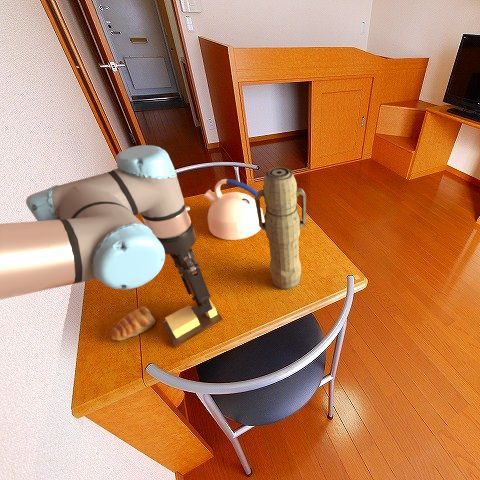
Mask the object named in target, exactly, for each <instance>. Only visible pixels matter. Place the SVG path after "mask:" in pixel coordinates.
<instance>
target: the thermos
mask: <svg viewBox="0 0 480 480" xmlns="http://www.w3.org/2000/svg"><path fill="white" fill-rule="evenodd" d="M297 184H298V183H297V180H296V178H295V176H294V173H293V171H292V170H291V169H289V168H286V167H283V166H276V167H272V168H270V169H268V170H267V171H266V172H265V174H264V178H263V185H262V189H259V190H258V191H257V192H258V193H257V194H256V196H254V199H255V204H256V209H257V215H258V220H259V227H260V228H261V229H260V230H263V231H264V232H265V235H266V238H267V239H268V246H269V255H270V261H269V272H270V277H271V283H272V284H273V286H274V287H276V288H277V289H280V290H284V291H285V290H286V291H288V290H292V289H294V288H296V287H297V286H298V285H299V284H300V283H301V279H302V278H301V277H302V276H301V275H302V264H301V260H300V251H299V250H300V248H299V247H300V244H299V243H300V242H299V239H300V236H301V230H302V227H306V225H307V194H306V192H305V191H304V189H303V188H302V187H298V186H297ZM300 195H301V215H300V213H299V211H298V197H299V196H300ZM261 197H263V198H264V199H263V200H264V204H265V205H264V206H265V213H264V222H262V215H261V209H262V206H261V201H260V200H261Z"/></svg>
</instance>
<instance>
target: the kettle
mask: <svg viewBox="0 0 480 480" xmlns="http://www.w3.org/2000/svg"><path fill="white" fill-rule="evenodd" d="M225 184H227V185H232V186H235V187H238V188H241V189H243V190H245V191H246V192H248V193H250V194H251V195H252V196H253V197H255V196H256V194H257V193H258V191H257V190H256V189H255V188H253V187H251V186H249V185H248V184H247V183H244V182H242V181H238V180H235V179H232V178H231V179H230V178H224V179H223V178H222V179H221V180H219V181H217V183H216V184H215V185H214V192H213V191H212V190H211V189H208V190H206V192H205V193H204V195H203V197H204V198H205V199H206V200H207V201H209V202H210V203H211V205H210V206H209V208H208V213H207V224H208V230H209V232H210V233H211V234H212V235H213V236H214V237H217V238H218V239H222V240H226V241H227V240H228V241H236V240H243V239H246V238H249V237H252V236H254V235H255V234H257V233H259V231H261V230H262V229H261V228H260V227H259V220H258V215H257V209H256V204H255V198H253V197H252V196H251V195H249V194H246V193H244V192H240V191H231V192H226V193H223V194H222V191H221V186H222V185H225ZM261 215H262V222H265V221H264V217H265V215H264V212H263V209H262V208H261Z"/></svg>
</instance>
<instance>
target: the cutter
mask: <svg viewBox="0 0 480 480" xmlns="http://www.w3.org/2000/svg"><path fill="white" fill-rule="evenodd" d="M184 279H185V281H186V284H187V286H188V289H189V291H190V293H191V294H190V296H192V298H193V297H194V293H193V291H192V289H191V287H190V285H189V283H188V280H187V278H186V276H185V277H184ZM205 314H206V315H207V317H208V316H209V314H208V312H206V313H205Z"/></svg>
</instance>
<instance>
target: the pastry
mask: <svg viewBox="0 0 480 480" xmlns="http://www.w3.org/2000/svg"><path fill="white" fill-rule="evenodd" d="M155 324H156V319H155V317H154V316H153V315H152V313H151V311H150V309H149V308H147V307H146V306H140V307H139V308H136V309H134V310H132V311H131V312H128V313H127V314H126V315H125V316H123V318H121V320H120V321H118V322H117V323H116V324H115V325H114V326H113V328H111V329H110V332H109V333H110V338H111V340H112V341H115V342H116V341H117V342H120V341H124V340H128V339H130V338H134V337H137V336H138V335H140V334H142V333H145V332H146V331H147V330H150V329H151V328H152V327H153V326H154V325H155Z"/></svg>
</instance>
